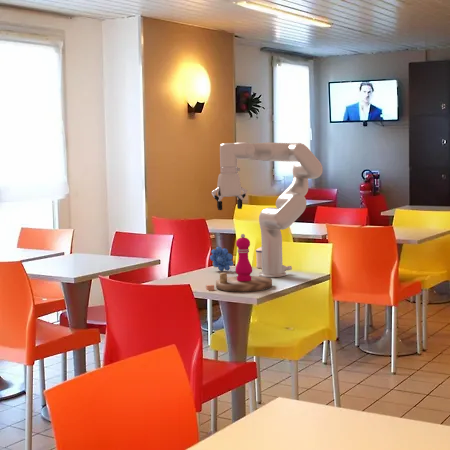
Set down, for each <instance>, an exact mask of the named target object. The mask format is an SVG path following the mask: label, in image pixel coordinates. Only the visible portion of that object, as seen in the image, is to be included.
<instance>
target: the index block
mask: <svg viewBox="0 0 450 450" xmlns="http://www.w3.org/2000/svg"><path fill="white" fill-rule="evenodd" d="M205 288H206V289H205V290H206V291H207V290H209V291H215V285H214V284H206V285H205Z"/></svg>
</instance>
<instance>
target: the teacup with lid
mask: <svg viewBox="0 0 450 450" xmlns="http://www.w3.org/2000/svg"><path fill="white" fill-rule="evenodd" d="M255 254H256V268H257V269H261V270H262V246H260V247H258V248H257V249H255Z"/></svg>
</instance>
